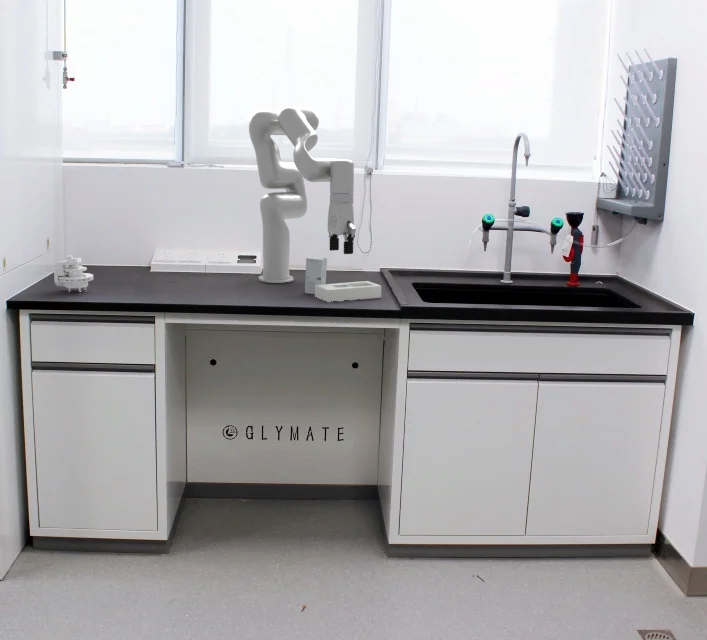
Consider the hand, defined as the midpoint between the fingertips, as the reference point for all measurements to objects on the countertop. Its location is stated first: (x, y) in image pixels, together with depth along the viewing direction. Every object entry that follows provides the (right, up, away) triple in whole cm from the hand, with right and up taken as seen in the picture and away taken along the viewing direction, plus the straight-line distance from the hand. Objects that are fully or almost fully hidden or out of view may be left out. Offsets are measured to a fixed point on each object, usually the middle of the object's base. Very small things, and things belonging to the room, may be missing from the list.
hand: (341, 252), depth 257 cm
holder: (+2, -15, +5) cm, 16 cm away
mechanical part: (-87, -13, +3) cm, 88 cm away
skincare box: (-9, -13, +10) cm, 19 cm away
